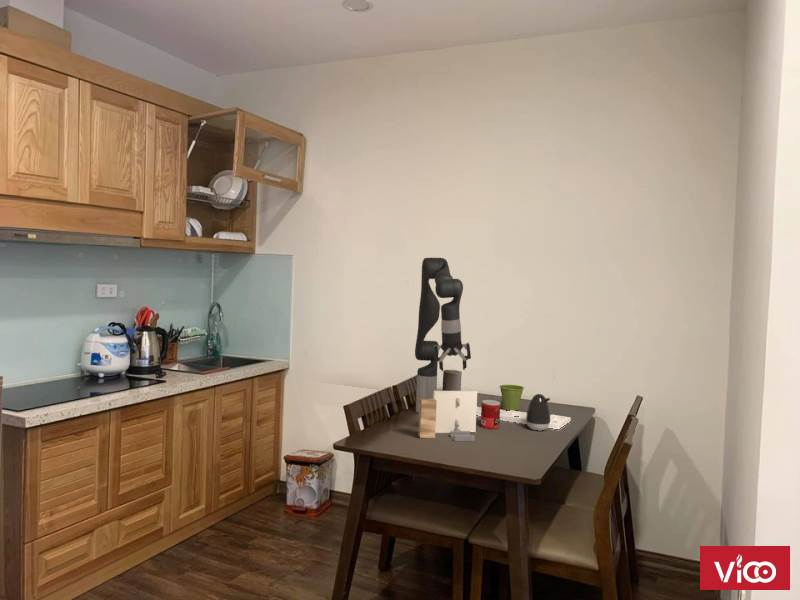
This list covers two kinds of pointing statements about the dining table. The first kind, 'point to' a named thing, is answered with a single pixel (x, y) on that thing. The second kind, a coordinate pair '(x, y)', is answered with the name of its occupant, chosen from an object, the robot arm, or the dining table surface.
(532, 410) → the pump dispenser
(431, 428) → the tall wooden block
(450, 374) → the pillar candle
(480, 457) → the dining table surface
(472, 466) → the dining table surface
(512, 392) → the plant pot
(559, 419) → the holder
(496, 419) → the canned food
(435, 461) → the dining table surface
